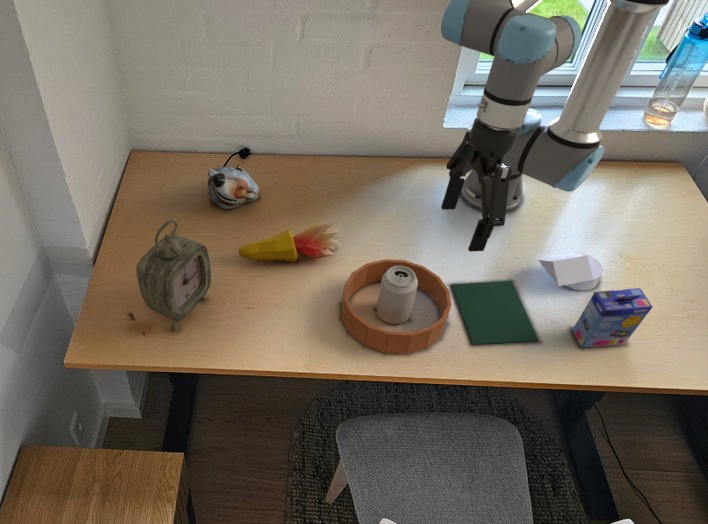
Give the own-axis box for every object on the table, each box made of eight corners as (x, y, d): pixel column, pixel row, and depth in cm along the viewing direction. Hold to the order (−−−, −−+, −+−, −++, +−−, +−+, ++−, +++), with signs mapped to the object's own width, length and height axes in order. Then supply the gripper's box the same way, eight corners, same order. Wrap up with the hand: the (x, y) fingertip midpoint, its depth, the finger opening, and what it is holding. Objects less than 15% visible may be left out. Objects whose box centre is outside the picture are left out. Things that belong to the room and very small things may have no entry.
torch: (243, 270, 150) (341, 247, 149) (244, 278, 142) (347, 255, 142) (236, 238, 147) (335, 215, 146) (237, 245, 139) (342, 221, 139)
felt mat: (451, 285, 139) (451, 284, 139) (511, 282, 139) (511, 280, 139) (472, 345, 127) (472, 343, 127) (538, 341, 128) (538, 340, 127)
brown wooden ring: (342, 276, 142) (344, 257, 137) (439, 280, 140) (444, 261, 136) (341, 350, 128) (344, 332, 123) (450, 356, 126) (456, 337, 121)
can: (412, 305, 135) (422, 266, 126) (406, 329, 131) (416, 291, 122) (379, 298, 137) (386, 259, 128) (372, 322, 132) (379, 283, 123)
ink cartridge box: (581, 349, 126) (610, 302, 115) (570, 329, 129) (597, 281, 118) (627, 345, 126) (660, 298, 115) (614, 326, 130) (646, 277, 119)
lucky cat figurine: (267, 189, 164) (270, 165, 151) (246, 225, 162) (247, 204, 149) (220, 164, 165) (218, 138, 152) (198, 200, 163) (195, 176, 149)
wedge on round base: (553, 296, 136) (605, 286, 137) (564, 275, 131) (617, 264, 132) (532, 270, 141) (583, 260, 143) (542, 248, 136) (594, 238, 138)
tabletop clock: (176, 338, 131) (158, 252, 112) (144, 323, 134) (121, 237, 115) (214, 297, 139) (203, 210, 120) (182, 283, 142) (167, 196, 123)
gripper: (448, 90, 107) (420, 193, 122) (510, 160, 90) (468, 270, 105) (487, 89, 108) (455, 192, 123) (556, 158, 91) (508, 268, 106)
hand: (461, 228), depth 114 cm, fingers open, 13 cm apart
